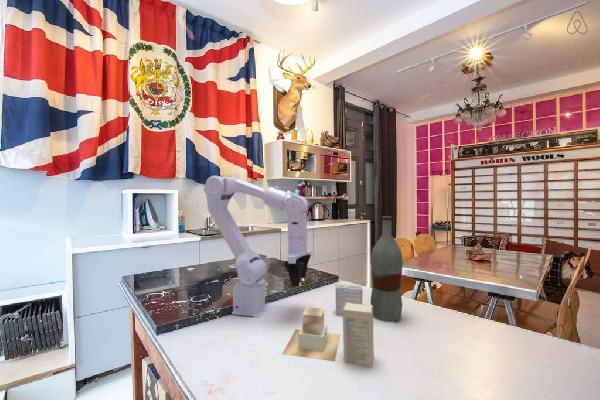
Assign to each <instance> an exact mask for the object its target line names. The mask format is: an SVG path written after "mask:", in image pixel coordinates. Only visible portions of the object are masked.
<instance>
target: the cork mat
mask: <svg viewBox="0 0 600 400" xmlns="http://www.w3.org/2000/svg"><path fill="white" fill-rule="evenodd" d="M300 330H301V329H297V328H296V329H295V330H294V332H293V333H292V335H291V337H290V339H289V341H288V343H287V344H286V347H285V348H284V349H283V350H284V351H283V352H282V355H287V356H294V357H295V356H296V357H300V358H308V359H309V358H310V359H315V360H321V361H327V362H328V361H330V362H335V360H336V356H337V352H338V348H339V343H340V338H341V334H340V333H339V334H338V333H331V332H330V333H329V332H327V341H326V345H325V348H324V351H323V352H320V351H313V350H305V349H298V333H299V332H300Z"/></svg>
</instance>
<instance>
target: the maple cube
mask: <svg viewBox="0 0 600 400" xmlns="http://www.w3.org/2000/svg"><path fill="white" fill-rule="evenodd" d="M324 325H325V308H324V307H311V306H306V307H305V308H304V312H302V326H303V333H306V334H315V335H322V332H323V328H324Z"/></svg>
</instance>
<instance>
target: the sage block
mask: <svg viewBox="0 0 600 400" xmlns="http://www.w3.org/2000/svg"><path fill="white" fill-rule="evenodd" d="M299 330H300V332H299V333H298V349H305V350H313V351H320V352H323V351H324V348H325V345H326V341H327V333H328V325H327V324H324V328H323V332H322V335H315V334H306V333H303V325H302V326H301V327H300V329H299Z"/></svg>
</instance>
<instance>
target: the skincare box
mask: <svg viewBox="0 0 600 400" xmlns="http://www.w3.org/2000/svg"><path fill="white" fill-rule="evenodd" d="M342 332H343V333H342V334H343V335H342V339H343V340H342V341H343V342H342V343H343V363H345V364H351V365H355V366H360V367H366V368H373V365H374V360H375V356H374V355H375V354H374V353H375V352H374V349H375V348H374V344H375V343H374V342H375V341H374V316H373V305H371V304H366V303H365V304H364V303H362V304H355V303H346V304H345V306H344V308H343V316H342Z"/></svg>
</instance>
